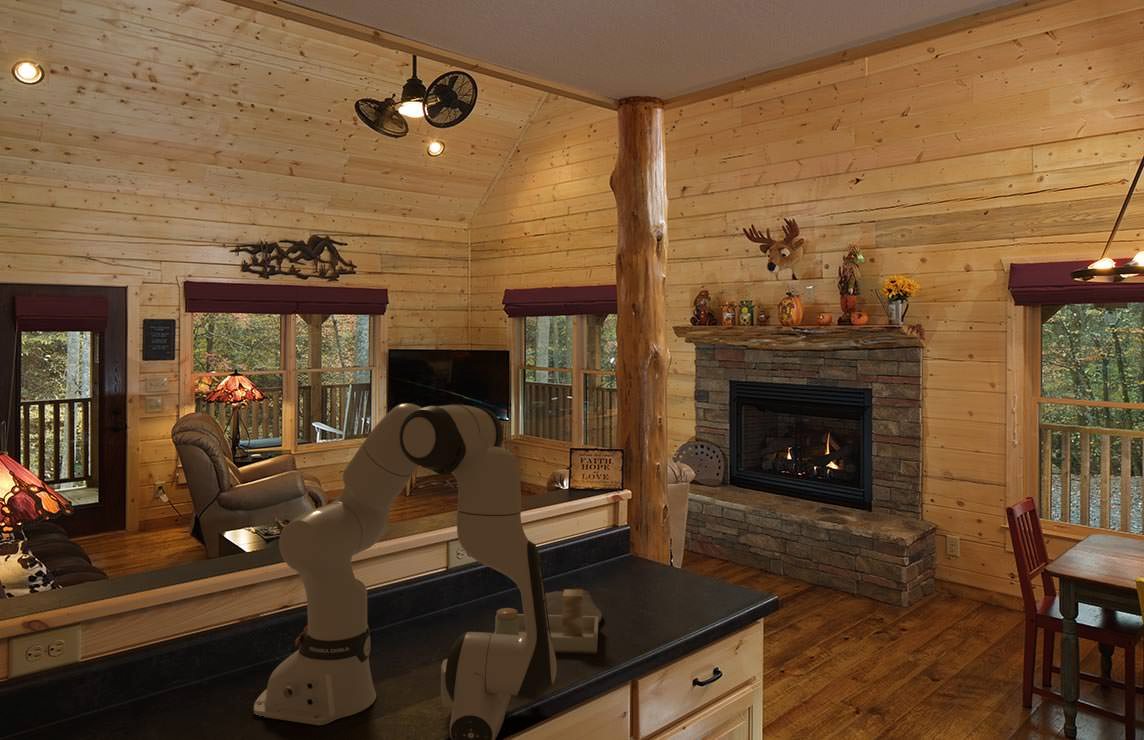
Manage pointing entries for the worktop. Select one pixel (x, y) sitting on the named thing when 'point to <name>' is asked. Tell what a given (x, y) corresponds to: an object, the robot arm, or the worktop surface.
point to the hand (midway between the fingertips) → (499, 657)
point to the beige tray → (570, 643)
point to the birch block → (573, 613)
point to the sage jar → (507, 622)
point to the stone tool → (556, 604)
